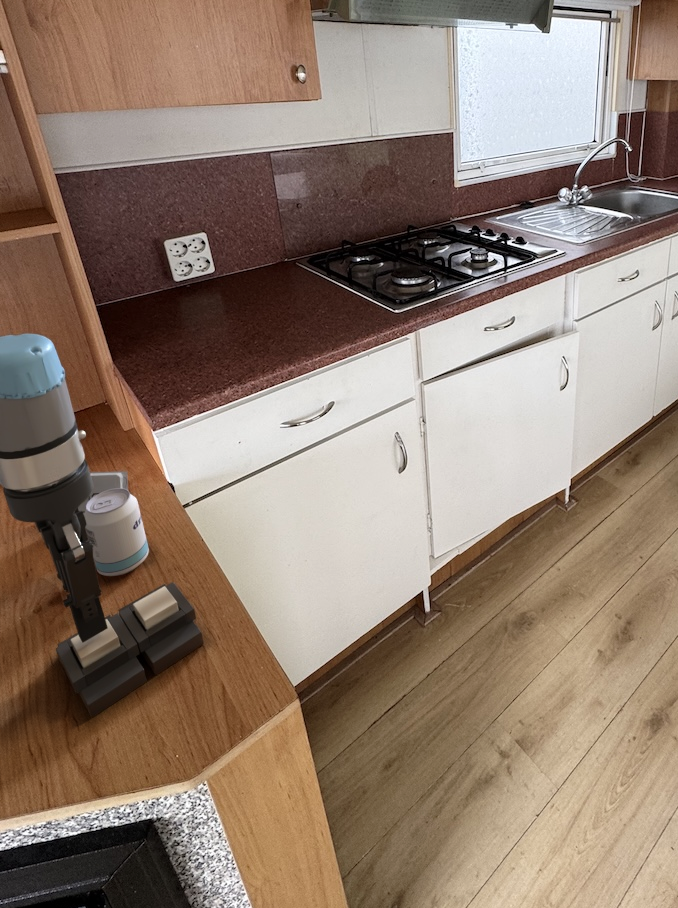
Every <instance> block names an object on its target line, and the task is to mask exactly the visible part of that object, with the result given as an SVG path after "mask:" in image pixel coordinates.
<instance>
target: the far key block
mask: <svg viewBox="0 0 678 908" xmlns="http://www.w3.org/2000/svg"><path fill="white" fill-rule="evenodd" d="M164 586H165V587H166V588H167V590H168V591H169V592H170V594H171V595H172V596H173V598H174V599H175V600H176V602H177V605H178V610H179V611H178V612H176V613H175V614H173V615H171V616H170V617H168V618H166V619H165V620H163V621H161V622H160V623H158V624H156V625H155V626H153V627H151V628H150V629H148V630H146V629H145V627H144V626H143V624H142V623H141V622H140V620H139V619H138V617H137V616H136V614H135V611H134V607H133V604H134V603H136V602H137V601H139V600H141V599H143V598H145V597H146V596H148V595H150V594H152V593H153V592H155V591H157V590H159V589H160V588H162V587H164ZM118 614H119V616H120V618H121V619H122V621H123V622H124V624H125V625H126V627H127V629H128V630H129V632H130V633H131V635H132V636H133V638H134V640H135V641H136V643H137V645H138V649H139V653H140V654H141V655H142V656H143V658H144V660H145V662H146V663H147V664H148V666H149V667H150V669H151V671H152V673H153V674H154V676H158V675H159V674H160V673H162V672H164V671H165V670H167V669H168V668H170V667H171V666H173V665H174V664H176V663H177V662H179V661H181V660H182V659H183V658H185V657H186V656H188V655H189V654H192V652H194V651H195V650H197V649H198V648H200V647H202V646H203V645H204V644H205V643H204V637H203V633H202V631H201V629H200V628H199V626H198V625H197V624H196V622H195V621H194V620H196V619H197V616H196V615H197V614H196V610H195V608H194V606H193V604H192V603H190V601H189V600H188V599H187V597H186V596H185V595H184V594H183V592H182V591H181V590H180V588H179V587H178V586H177V585H176V583H175V582H174V581H172V582H170V583H168V584H166V583H164V584H162V585H160V586H158V587H156V588H155V589H152V590H151V591H149V592H148V593H146V594H144V595H142V596H140V597H139V598H136V599H135V600H134V601H132V602H130V603H128V604H126V605H124V606H122V607H121V608H119V609H118Z"/></svg>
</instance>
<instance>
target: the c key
mask: <svg viewBox="0 0 678 908" xmlns="http://www.w3.org/2000/svg"><path fill="white" fill-rule="evenodd" d="M106 624H107V627H108V628H107V629H106V630H104V631H102V632H101V633H99V634H97V635H95V636H94V637H92V638H90V639H89V640H87V641H85V642H83V643H82V641H81V639H80V637H79V635H77V636H76V637H74V638H72V639H71V643H72V646H73V650H74V651H75V653H76V655H77V657H78V659H79V661H80V663H81V665H82V667H83V669H84V668H85V667H87V666H89V665H90V664H92V663H94V662H95V661H97V660H99V659H100V658H102V657H104V656H105V655H107V654H109V653H110V652H112V651H114V650H115V649H117V648H119V647H120V642H119V639H118V636H117V634H116V633H115V631H114V629H113V628H112V626H111V625H110V623H109V621H108V620H107V619H106Z"/></svg>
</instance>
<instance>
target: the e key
mask: <svg viewBox="0 0 678 908" xmlns="http://www.w3.org/2000/svg"><path fill="white" fill-rule="evenodd" d="M133 607H134V611H135V614H136V616H137V617H138V619H139V620H140V622H141V623H142V624H143V626H144V627H145V629H146V630H148V629H150V628H151V627H153V626H155V625H156V624H158V623H160V622H161V621H163V620H165V619H166V618H168V617H170V616H171V615H173V614H175V613H176V612H178V611H179V610H178V605H177V602H176V600H175V599H174V598H173V596H172V595H171V594H170V592H169V591H168V590H167V588H166V587H165V586H164V587H162V588H160V589H159V590H157V591H155V592H153V593H152V594H150V595H148V596H146V597H145V598H143V599H141V600H139V601H137V602H136V603H134V604H133Z"/></svg>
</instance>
